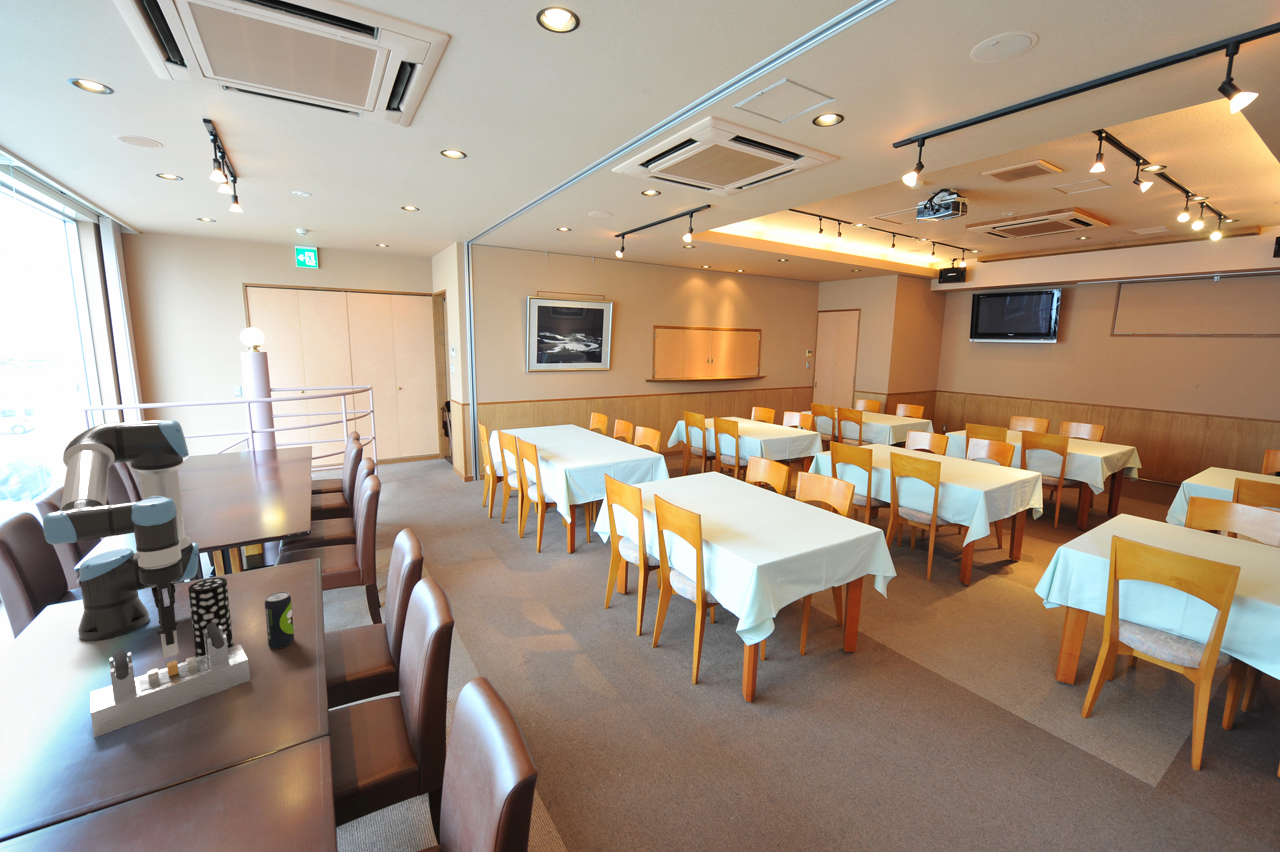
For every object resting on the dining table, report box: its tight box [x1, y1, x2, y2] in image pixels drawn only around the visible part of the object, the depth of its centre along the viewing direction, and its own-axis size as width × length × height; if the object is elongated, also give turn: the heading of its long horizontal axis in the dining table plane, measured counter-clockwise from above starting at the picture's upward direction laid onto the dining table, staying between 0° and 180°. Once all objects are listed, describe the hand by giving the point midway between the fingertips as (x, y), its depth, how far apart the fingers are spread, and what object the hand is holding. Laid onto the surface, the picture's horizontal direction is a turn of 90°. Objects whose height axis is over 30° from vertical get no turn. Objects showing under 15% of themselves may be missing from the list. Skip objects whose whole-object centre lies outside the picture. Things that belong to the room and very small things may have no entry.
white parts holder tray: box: [89, 626, 251, 738], centre depth 126 cm, size 10×28×13 cm, turn 137°
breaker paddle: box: [166, 659, 179, 676], centre depth 126 cm, size 2×2×3 cm
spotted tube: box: [187, 577, 234, 658], centre depth 146 cm, size 8×8×20 cm
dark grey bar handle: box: [113, 648, 129, 680], centre depth 119 cm, size 13×2×2 cm, turn 47°
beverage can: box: [264, 591, 295, 650], centre depth 149 cm, size 6×6×15 cm
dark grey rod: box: [206, 623, 224, 649], centre depth 131 cm, size 13×2×2 cm, turn 47°
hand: (171, 654), depth 125 cm, fingers closed
